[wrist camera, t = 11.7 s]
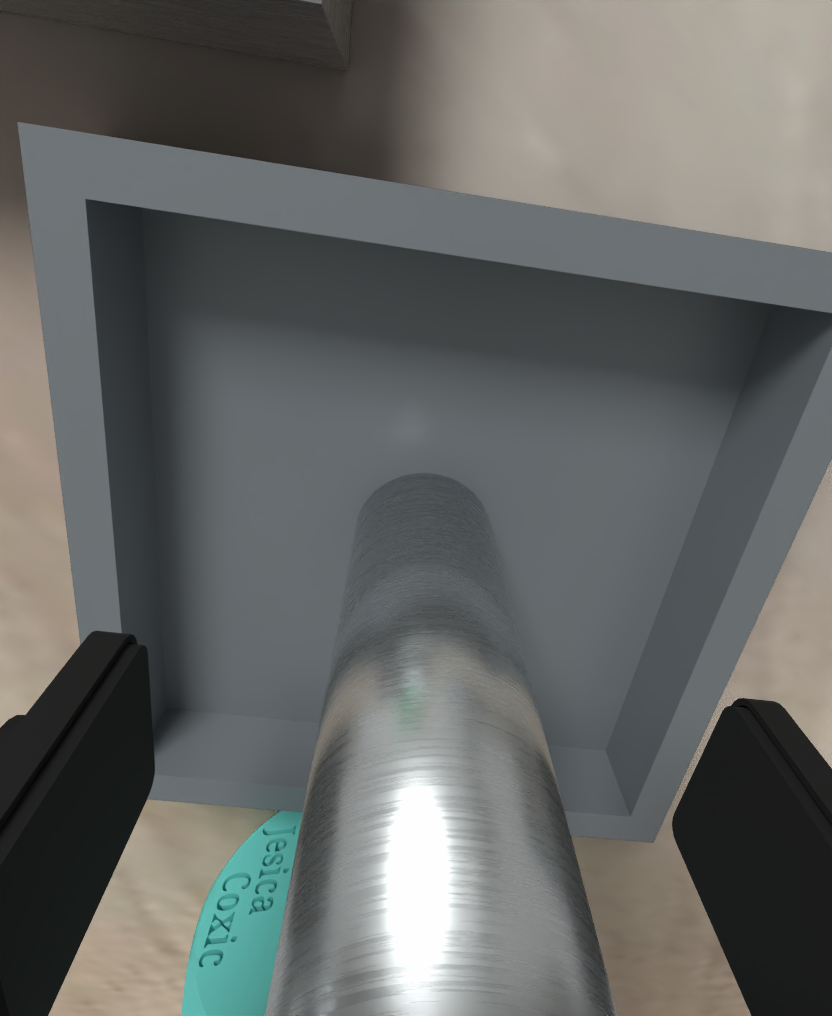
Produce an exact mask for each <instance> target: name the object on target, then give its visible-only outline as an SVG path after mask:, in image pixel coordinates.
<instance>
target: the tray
mask: <svg viewBox="0 0 832 1016" xmlns="http://www.w3.org/2000/svg"><path fill="white" fill-rule="evenodd" d="M17 123H18V132H19V140H20V148H21V156H22V165H23V173H24V181H25V189H26V198H27V206H28V214H29V223H30V231H31V239H32V247H33V256H34V264H35V272H36V281H37V289H38V297H39V305H40V314H41V322H42V330H43V338H44V347H45V355H46V363H47V372H48V380H49V388H50V396H51V405H52V413H53V421H54V430H55V438H56V446H57V454H58V463H59V471H60V479H61V488H62V496H63V504H64V512H65V521H66V529H67V537H68V545H69V554H70V562H71V570H72V579H73V587H74V595H75V603H76V612H77V620H78V628H79V637H80V645H81V644H82V643H83V641H84V640H85V639H86V638H87V636H88V635H89V634H90V633H91V632H93V631H105V632H114V633H124V634H132V635H134V636H135V637H136V639H137V645H144V646H146V647H147V650H148V662H149V678H150V694H151V710H152V727H153V743H154V759H155V775H154V780H153V785H152V788H151V791H150V793H149V796H148V798H147V799H151V800H162V801H174V802H185V803H197V804H209V805H220V806H232V807H244V808H255V809H267V810H278V811H290V812H302V813H303V809H304V803H305V798H306V793H307V787H308V782H309V776H310V771H311V766H312V760H313V755H314V750H315V744H316V739H317V734H318V728H319V723H320V717H321V712H322V707H323V701H324V696H325V691H326V685H327V680H328V675H329V669H330V664H331V658H332V653H333V648H334V642H335V637H336V632H337V626H338V621H339V615H340V610H341V605H342V599H343V594H344V589H345V583H346V578H347V573H348V567H349V562H350V556H351V551H352V546H353V540H354V535H355V530H356V524H357V519H358V516H359V514H360V511H361V509H362V507H363V505H364V504H365V502H366V501H367V500H368V498H369V497H370V496H371V495H372V494H373V493H374V492H375V491H376V490H377V489H379V488H380V487H381V486H383V485H384V484H386V483H388V482H389V481H392V480H394V479H396V478H399V477H402V476H405V475H410V474H419V473H428V474H437V475H442V476H445V477H448V478H451V479H453V480H456V481H458V482H460V483H461V484H463V485H464V486H466V487H467V488H468V489H470V490H471V491H472V492H473V493H474V494H475V495H476V496H477V497H478V498H479V500H480V501H481V503H482V504H483V506H484V508H485V510H486V512H487V515H488V518H489V521H490V525H491V529H492V533H493V537H494V541H495V544H496V548H497V552H498V556H499V560H500V564H501V568H502V571H503V575H504V579H505V583H506V587H507V591H508V595H509V599H510V602H511V606H512V610H513V614H514V618H515V622H516V626H517V629H518V633H519V637H520V641H521V645H522V649H523V653H524V656H525V660H526V664H527V668H528V672H529V676H530V680H531V683H532V687H533V691H534V695H535V699H536V703H537V707H538V711H539V714H540V718H541V722H542V726H543V730H544V734H545V738H546V741H547V745H548V749H549V753H550V757H551V761H552V765H553V768H554V772H555V776H556V780H557V784H558V788H559V792H560V795H561V799H562V803H563V807H564V811H565V815H566V819H567V822H568V826H569V830H570V834H571V836H580V837H592V838H604V839H615V840H627V841H638V842H650V843H653V842H654V840H655V838H656V836H657V834H658V831H659V829H660V827H661V825H662V823H663V821H664V818H665V816H666V814H667V812H668V810H669V808H670V806H671V803H672V801H673V799H674V797H675V795H676V793H677V790H678V788H679V786H680V784H681V782H682V780H683V778H684V775H685V773H686V771H687V769H688V767H689V765H690V762H691V760H692V758H693V756H694V754H695V752H696V750H697V747H698V745H699V743H700V741H701V739H702V737H703V734H704V732H705V730H706V728H707V726H708V724H709V722H710V719H711V717H712V715H713V713H714V711H715V709H716V706H717V704H718V702H719V700H720V698H721V696H722V694H723V691H724V689H725V687H726V685H727V683H728V681H729V678H730V676H731V674H732V672H733V670H734V668H735V665H736V663H737V661H738V659H739V657H740V655H741V653H742V650H743V648H744V646H745V644H746V642H747V640H748V637H749V635H750V633H751V631H752V629H753V627H754V625H755V622H756V620H757V618H758V616H759V614H760V612H761V609H762V607H763V605H764V603H765V601H766V599H767V597H768V594H769V592H770V590H771V588H772V586H773V584H774V581H775V579H776V577H777V575H778V573H779V571H780V569H781V566H782V564H783V562H784V560H785V558H786V556H787V553H788V551H789V549H790V547H791V545H792V543H793V541H794V538H795V536H796V534H797V532H798V530H799V528H800V525H801V523H802V521H803V519H804V517H805V515H806V512H807V510H808V508H809V506H810V504H811V502H812V500H813V497H814V495H815V493H816V491H817V489H818V487H819V484H820V482H821V480H822V478H823V476H824V474H825V472H826V469H827V467H828V465H829V463H830V461H831V459H832V253H831V252H825V251H819V250H813V249H806V248H800V247H794V246H788V245H781V244H775V243H769V242H763V241H757V240H750V239H744V238H738V237H732V236H725V235H719V234H713V233H707V232H701V231H694V230H688V229H682V228H676V227H669V226H663V225H657V224H651V223H645V222H638V221H632V220H626V219H620V218H613V217H607V216H601V215H595V214H589V213H582V212H576V211H570V210H564V209H557V208H551V207H545V206H539V205H533V204H526V203H520V202H514V201H508V200H501V199H495V198H489V197H483V196H477V195H470V194H464V193H458V192H452V191H445V190H439V189H433V188H427V187H421V186H414V185H408V184H402V183H396V182H389V181H383V180H377V179H371V178H365V177H358V176H352V175H346V174H340V173H333V172H327V171H321V170H315V169H309V168H302V167H296V166H290V165H284V164H277V163H271V162H265V161H259V160H253V159H246V158H240V157H234V156H228V155H221V154H215V153H209V152H203V151H197V150H190V149H184V148H178V147H172V146H165V145H159V144H153V143H147V142H141V141H134V140H128V139H122V138H116V137H109V136H103V135H97V134H91V133H85V132H78V131H72V130H66V129H60V128H53V127H47V126H41V125H35V124H29V123H22V122H17Z"/></svg>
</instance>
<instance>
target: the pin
mask: <svg viewBox="0 0 832 1016" xmlns="http://www.w3.org/2000/svg"><path fill="white" fill-rule="evenodd" d="M265 1016H617V1012H616V1008H615V1004H614V1000H613V996H612V992H611V989H610V985H609V981H608V977H607V973H606V969H605V965H604V961H603V958H602V954H601V950H600V946H599V942H598V938H597V934H596V931H595V927H594V923H593V919H592V915H591V911H590V907H589V904H588V900H587V896H586V892H585V888H584V884H583V880H582V877H581V873H580V869H579V865H578V861H577V857H576V853H575V850H574V846H573V842H572V838H571V834H570V830H569V826H568V822H567V819H566V815H565V811H564V807H563V803H562V799H561V795H560V792H559V788H558V784H557V780H556V776H555V772H554V768H553V765H552V761H551V757H550V753H549V749H548V745H547V741H546V738H545V734H544V730H543V726H542V722H541V718H540V714H539V711H538V707H537V703H536V699H535V695H534V691H533V687H532V683H531V680H530V676H529V672H528V668H527V664H526V660H525V656H524V653H523V649H522V645H521V641H520V637H519V633H518V629H517V626H516V622H515V618H514V614H513V610H512V606H511V602H510V599H509V595H508V591H507V587H506V583H505V579H504V575H503V571H502V568H501V564H500V560H499V556H498V552H497V548H496V544H495V541H494V537H493V533H492V529H491V525H490V521H489V518H488V515H487V512H486V510H485V508H484V506H483V504H482V503H481V501H480V500H479V498H478V497H477V496H476V495H475V494H474V493H473V492H472V491H471V490H470V489H468V488H467V487H466V486H464V485H463V484H461V483H460V482H458V481H456V480H453V479H451V478H448V477H445V476H442V475H437V474H428V473H419V474H410V475H405V476H402V477H399V478H396V479H394V480H392V481H389V482H388V483H386V484H384V485H383V486H381V487H380V488H379V489H377V490H376V491H375V492H374V493H373V494H372V495H371V496H370V497H369V498H368V500H367V501H366V502H365V504H364V505H363V507H362V509H361V511H360V514H359V516H358V519H357V524H356V530H355V535H354V540H353V546H352V551H351V556H350V562H349V567H348V573H347V578H346V583H345V589H344V594H343V599H342V605H341V610H340V615H339V621H338V626H337V632H336V637H335V642H334V648H333V653H332V658H331V664H330V669H329V675H328V680H327V685H326V691H325V696H324V701H323V707H322V712H321V717H320V723H319V728H318V734H317V739H316V744H315V750H314V755H313V760H312V766H311V771H310V776H309V782H308V787H307V793H306V798H305V803H304V809H303V814H302V819H301V825H300V830H299V835H298V841H297V846H296V852H295V857H294V862H293V868H292V873H291V878H290V884H289V889H288V895H287V900H286V905H285V911H284V916H283V921H282V927H281V932H280V937H279V943H278V948H277V954H276V959H275V964H274V970H273V975H272V980H271V986H270V991H269V996H268V1002H267V1007H266V1013H265Z"/></svg>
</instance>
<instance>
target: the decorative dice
mask: <svg viewBox="0 0 832 1016" xmlns="http://www.w3.org/2000/svg"><path fill="white" fill-rule="evenodd" d="M302 814H303V813H302V812H290V811H280V812H278V813H277V814H276V815H274V816H273V817H271V818H270V819H269V820H268V821H266V822H265V823H264V824H263V825H262V826H260V827H259V828H258V829H257V830H256V831H255V832H254V833H253V834H252V835H251V836H250V837H249V838H248V839H247V840H246V841H245V842H244V843H243V844H242V845H241V846H240V847H239V848H238V850H237V851H236V852H235V854H234V855H233V856H232V858H231V859H230V860H229V862H228V863H227V864H226V866H225V867H224V868H223V870H222V871H221V873H220V874H219V875H218V877H217V879H216V880H215V882H214V884H213V885H212V887H211V889H210V891H209V894H208V896H207V898H206V901H205V903H204V906H203V908H202V911H201V914H200V917H199V920H198V923H197V927H196V930H195V934H194V938H193V942H192V946H191V951H190V955H189V961H188V966H187V972H186V979H185V986H184V994H183V1004H182V1016H265V1013H266V1007H267V1002H268V996H269V991H270V986H271V980H272V975H273V970H274V964H275V959H276V954H277V948H278V943H279V937H280V932H281V927H282V921H283V916H284V911H285V905H286V900H287V895H288V889H289V884H290V878H291V873H292V868H293V862H294V857H295V852H296V846H297V841H298V835H299V830H300V825H301V819H302Z"/></svg>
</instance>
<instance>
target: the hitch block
mask: <svg viewBox="0 0 832 1016" xmlns="http://www.w3.org/2000/svg"><path fill="white" fill-rule="evenodd" d="M352 7H353V0H0V11H3V12H9V13H14V14H20V15H26V16H32V17H38V18H43V19H49V20H55V21H61V22H66V23H72V24H78V25H84V26H90V27H95V28H101V29H107V30H113V31H119V32H124V33H130V34H136V35H142V36H147V37H153V38H159V39H165V40H171V41H176V42H182V43H188V44H194V45H200V46H205V47H211V48H217V49H223V50H229V51H234V52H240V53H246V54H252V55H257V56H263V57H269V58H275V59H281V60H286V61H292V62H298V63H304V64H310V65H315V66H321V67H327V68H333V69H338V70H344V71H348V60H349V47H350V33H351V20H352Z"/></svg>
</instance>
